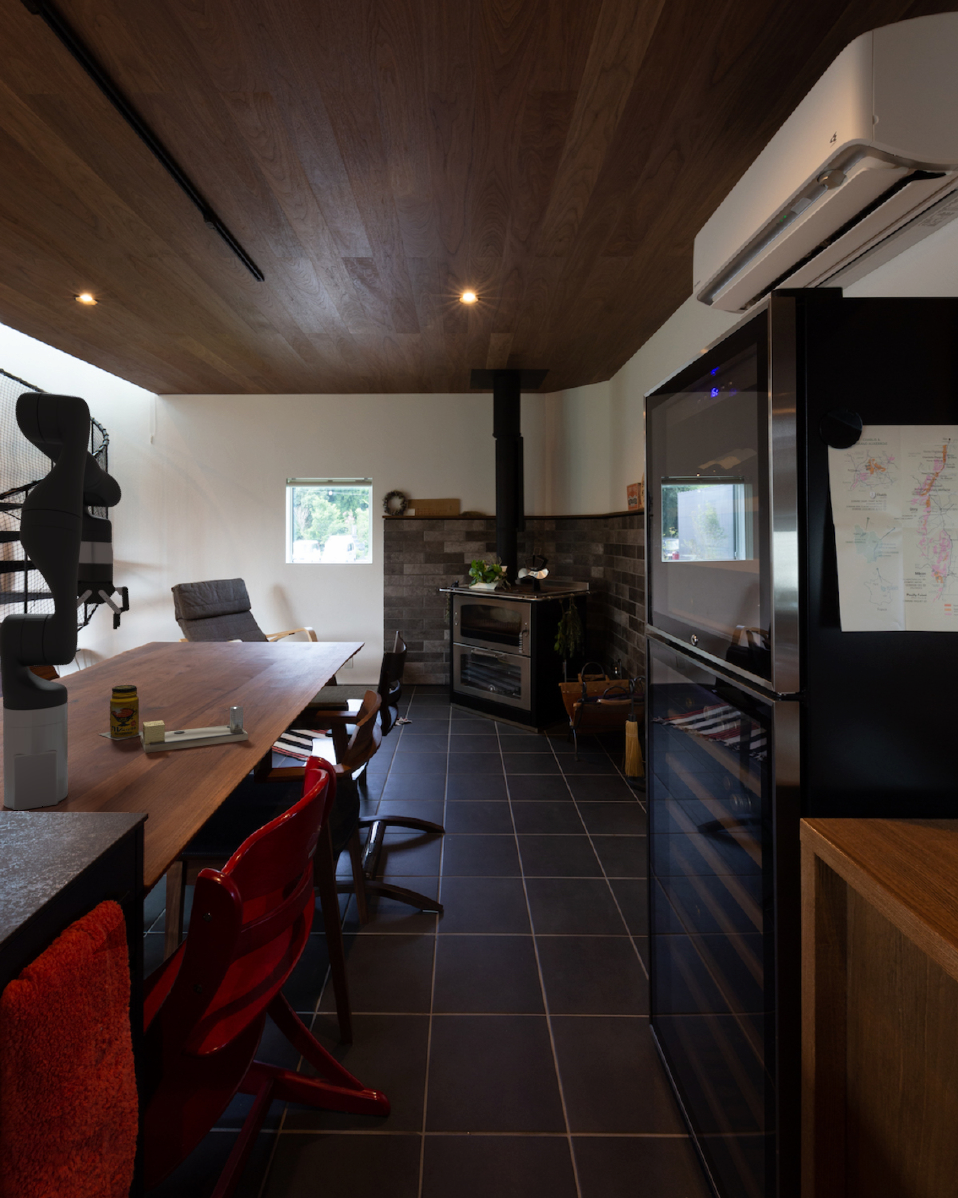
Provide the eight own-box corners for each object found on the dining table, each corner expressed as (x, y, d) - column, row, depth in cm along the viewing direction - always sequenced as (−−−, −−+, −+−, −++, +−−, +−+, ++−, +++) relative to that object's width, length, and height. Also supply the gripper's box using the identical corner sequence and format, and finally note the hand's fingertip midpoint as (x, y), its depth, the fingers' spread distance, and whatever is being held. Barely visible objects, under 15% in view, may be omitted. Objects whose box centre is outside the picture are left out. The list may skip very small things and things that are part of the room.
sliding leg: (164, 741, 138) (164, 724, 138) (144, 744, 136) (144, 726, 136) (160, 734, 144) (160, 717, 144) (141, 736, 142) (141, 719, 141)
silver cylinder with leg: (244, 732, 148) (244, 708, 148) (231, 734, 147) (231, 709, 146) (237, 726, 154) (238, 702, 153) (225, 727, 152) (225, 703, 152)
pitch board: (247, 739, 147) (247, 732, 147) (145, 752, 135) (145, 745, 135) (238, 729, 156) (238, 722, 156) (140, 741, 143) (140, 733, 143)
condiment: (118, 741, 143) (118, 690, 142) (97, 735, 147) (98, 686, 146) (147, 734, 149) (148, 686, 149) (127, 728, 153) (128, 681, 153)
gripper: (58, 560, 136) (58, 632, 137) (131, 562, 145) (130, 630, 145) (57, 560, 142) (57, 629, 143) (127, 562, 151) (126, 627, 152)
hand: (94, 629), depth 144 cm, fingers open, 8 cm apart
